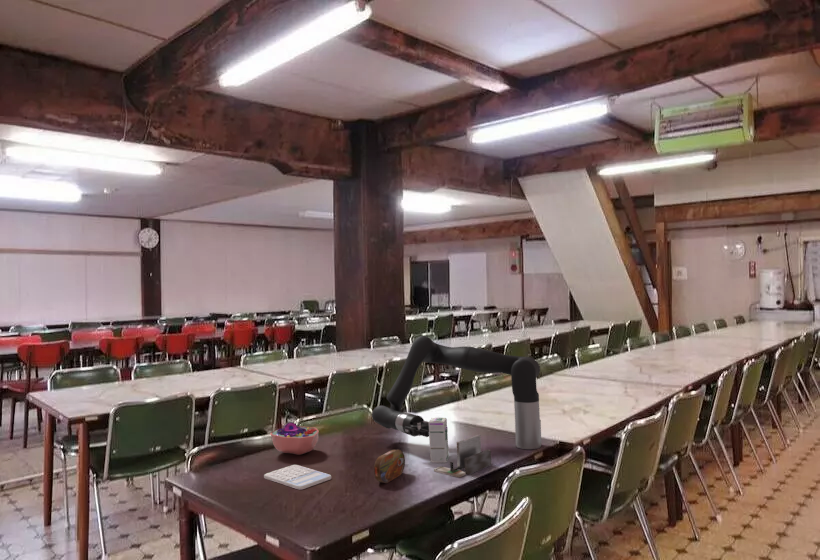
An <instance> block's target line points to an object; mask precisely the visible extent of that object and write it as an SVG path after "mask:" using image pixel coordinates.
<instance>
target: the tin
mask: <svg viewBox="0 0 820 560" xmlns="http://www.w3.org/2000/svg"><path fill="white" fill-rule="evenodd" d="M405 466H406V458H405V454H404V452H403V451H402V450H401V449H391V450H389V451H387V452H386V453H384V454H382V455H379V456H378V457H377V458H376V459H375V462H374V466H373V469H374V471H373V472H374V478H375V480H376V481H377V482H378V483H383V484H388V483H390V482H391V481H393V480H395V479H397V478H398V477H400V476H401V475H402V473H403V472H404V471H405Z"/></svg>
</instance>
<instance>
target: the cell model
mask: <svg viewBox="0 0 820 560" xmlns="http://www.w3.org/2000/svg"><path fill="white" fill-rule="evenodd" d="M269 434H270V436H271V439H272V444H273V446H274V448H275V449H276V450H277V451H278V452H280V453H282V454H293V455H298V456H300V455H303V454H306V453H307V454H308V453H310V452H311V451H313V450H314V448H315V447H316V445H317V443H318V442H319V429H318V428H317V427H315V426H312V427H311V426H304V425H303V426H301V425H299V426H298V425H297V423H295V422H292V421H290V422H289V421H288V422H287V423H285V424H284V426H283V427H281V428H277V429H275V430H273V431H271V432H270V433H269Z"/></svg>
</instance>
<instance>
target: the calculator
mask: <svg viewBox="0 0 820 560" xmlns="http://www.w3.org/2000/svg"><path fill="white" fill-rule="evenodd" d="M263 478H264V479H265V480H268V481H271V482H275V483H277V484H281V485H283V486H286V487H290V488H292V489H295V490H305V489H308V488H310V487H313V486H316V485H319V484H321V483H324V482H327V481H330V480H332V475H331V474H328V473H325V472H322V471H319V470H316V469H312V468H309V467H305V466H303V465H302V466H301V465H299V464H291V465H289V466H285V467H282V468H279V469H276V470H272V471H270V472H267V473H264V474H263Z"/></svg>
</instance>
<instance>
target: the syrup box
mask: <svg viewBox="0 0 820 560" xmlns="http://www.w3.org/2000/svg"><path fill="white" fill-rule="evenodd" d="M428 422H429V437H428V438H429V457H430V460H429V461H430V463H432V464H433V463H435V464H447V462H448V460H449V457H450V456H449V440H448V439H449V437H448V436H449V435H448V432H447V429H448V420H447V418H446V417H431V419H429V421H428Z"/></svg>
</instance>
